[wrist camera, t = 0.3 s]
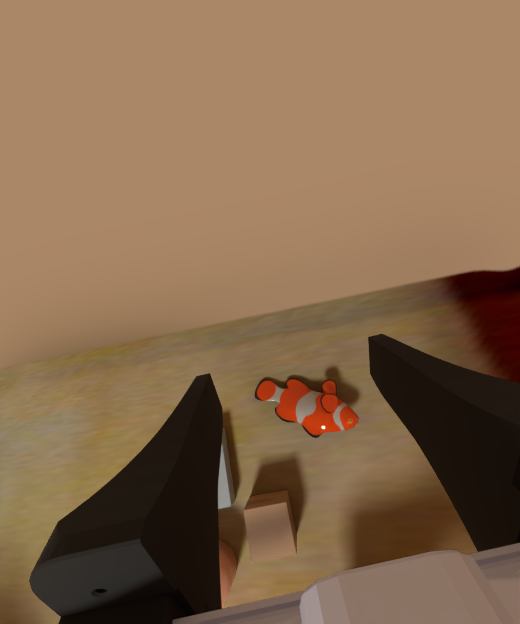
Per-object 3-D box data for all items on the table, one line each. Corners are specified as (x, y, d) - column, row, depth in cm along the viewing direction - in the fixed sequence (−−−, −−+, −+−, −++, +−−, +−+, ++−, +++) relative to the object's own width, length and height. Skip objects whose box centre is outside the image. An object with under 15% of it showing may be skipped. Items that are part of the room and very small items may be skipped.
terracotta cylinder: (240, 585, 34) (231, 614, 29) (200, 592, 34) (185, 622, 30) (233, 536, 36) (223, 557, 31) (195, 543, 36) (180, 565, 31)
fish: (372, 407, 34) (329, 467, 33) (363, 406, 38) (325, 458, 37) (287, 341, 37) (246, 392, 36) (288, 347, 42) (251, 393, 41)
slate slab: (236, 498, 37) (231, 506, 34) (171, 510, 38) (161, 519, 35) (225, 426, 40) (219, 428, 37) (165, 439, 41) (155, 442, 38)
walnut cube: (296, 534, 35) (296, 555, 30) (257, 541, 35) (251, 563, 31) (287, 488, 37) (286, 502, 32) (250, 496, 37) (243, 510, 32)
